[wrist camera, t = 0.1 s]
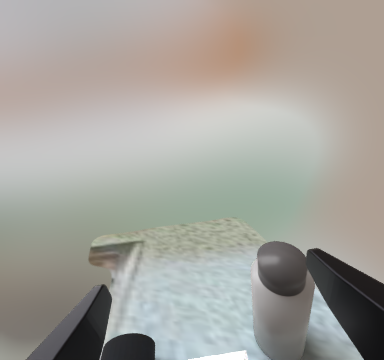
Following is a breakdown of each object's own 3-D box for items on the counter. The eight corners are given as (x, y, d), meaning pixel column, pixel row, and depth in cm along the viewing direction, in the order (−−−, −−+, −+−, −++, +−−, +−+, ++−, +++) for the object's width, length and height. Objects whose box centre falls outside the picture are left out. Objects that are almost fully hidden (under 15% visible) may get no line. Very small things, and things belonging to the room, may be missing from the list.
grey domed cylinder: (316, 360, 17) (334, 280, 12) (264, 368, 17) (264, 292, 12) (287, 305, 21) (293, 232, 16) (247, 312, 21) (242, 241, 17)
